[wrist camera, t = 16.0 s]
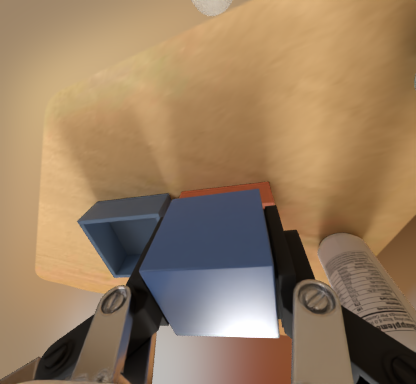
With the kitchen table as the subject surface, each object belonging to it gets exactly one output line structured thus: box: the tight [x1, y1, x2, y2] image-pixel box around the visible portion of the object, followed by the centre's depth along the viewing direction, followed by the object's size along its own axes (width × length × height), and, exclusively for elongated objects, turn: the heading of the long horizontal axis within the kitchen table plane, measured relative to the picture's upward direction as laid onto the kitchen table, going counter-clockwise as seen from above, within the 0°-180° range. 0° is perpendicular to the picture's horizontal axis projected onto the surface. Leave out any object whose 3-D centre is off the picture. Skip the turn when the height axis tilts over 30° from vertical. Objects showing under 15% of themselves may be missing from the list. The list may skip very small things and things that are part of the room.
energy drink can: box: [317, 233, 416, 352], centre depth 22 cm, size 6×6×15 cm
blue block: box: [139, 189, 279, 338], centre depth 10 cm, size 4×4×4 cm
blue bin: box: [77, 193, 171, 278], centre depth 29 cm, size 11×11×4 cm
